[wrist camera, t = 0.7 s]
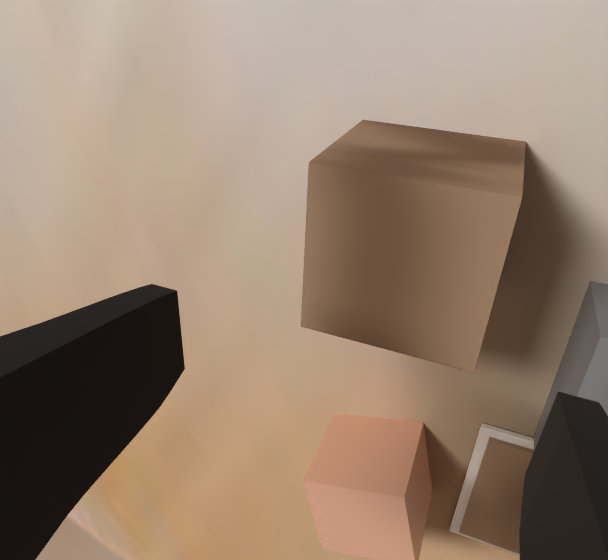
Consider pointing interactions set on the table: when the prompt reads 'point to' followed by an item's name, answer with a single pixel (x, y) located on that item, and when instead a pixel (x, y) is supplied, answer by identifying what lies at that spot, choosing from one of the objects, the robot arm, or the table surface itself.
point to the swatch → (494, 489)
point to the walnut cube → (409, 238)
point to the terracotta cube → (371, 487)
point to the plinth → (584, 355)
